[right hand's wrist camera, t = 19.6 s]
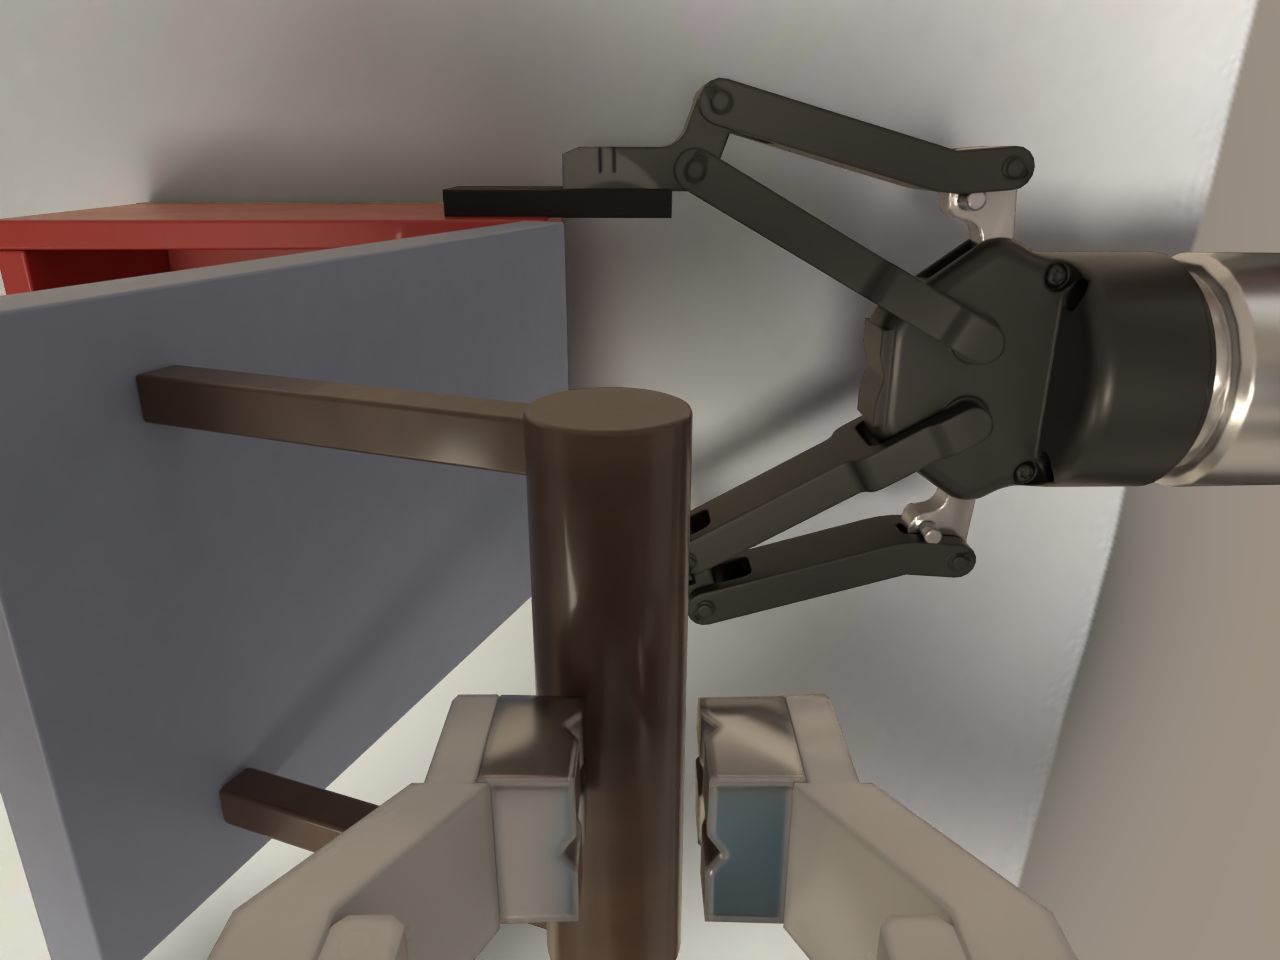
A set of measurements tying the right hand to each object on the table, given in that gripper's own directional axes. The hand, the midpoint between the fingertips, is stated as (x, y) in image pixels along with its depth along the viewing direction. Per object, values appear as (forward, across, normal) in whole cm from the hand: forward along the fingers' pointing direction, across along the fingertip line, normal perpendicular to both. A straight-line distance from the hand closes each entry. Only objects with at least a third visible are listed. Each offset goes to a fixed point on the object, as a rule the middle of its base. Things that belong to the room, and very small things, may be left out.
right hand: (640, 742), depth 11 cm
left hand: (+19, -6, 0) cm, 20 cm away
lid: (+9, -6, 0) cm, 11 cm away
